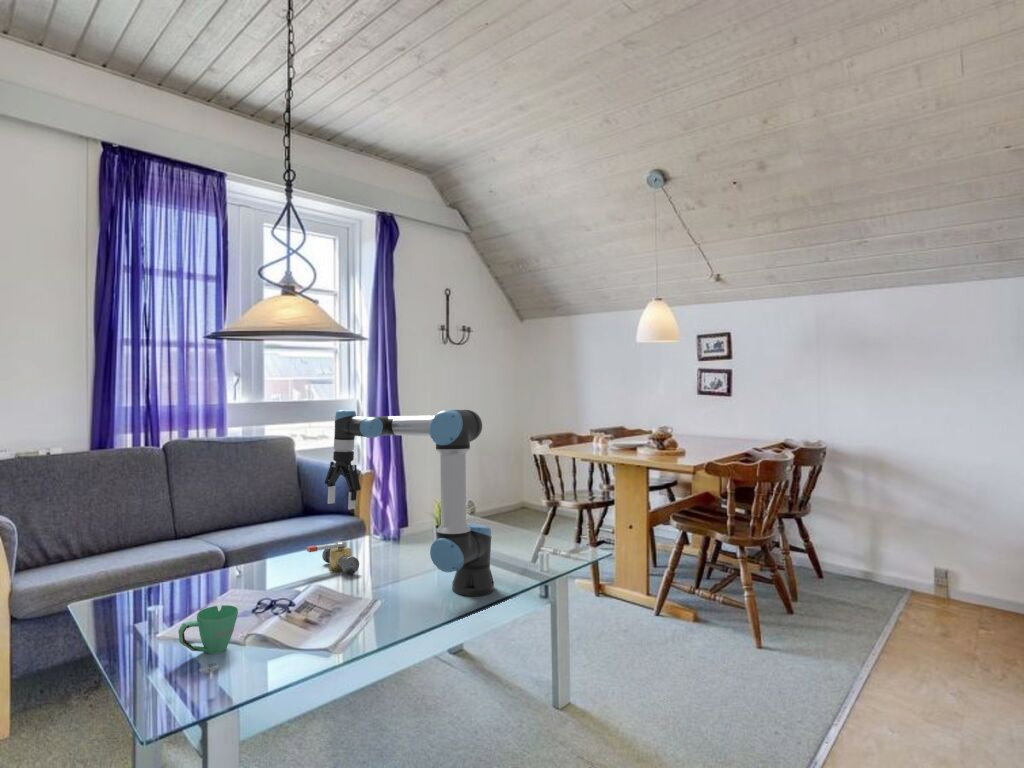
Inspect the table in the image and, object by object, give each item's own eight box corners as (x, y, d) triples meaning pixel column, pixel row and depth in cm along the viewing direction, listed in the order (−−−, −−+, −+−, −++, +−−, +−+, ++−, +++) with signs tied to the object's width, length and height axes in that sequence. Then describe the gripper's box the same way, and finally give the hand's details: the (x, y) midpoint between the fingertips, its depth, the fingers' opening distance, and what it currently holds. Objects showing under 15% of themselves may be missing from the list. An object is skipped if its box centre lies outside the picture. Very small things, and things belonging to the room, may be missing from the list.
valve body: (361, 573, 220) (361, 551, 220) (341, 577, 215) (342, 554, 215) (338, 561, 235) (339, 540, 235) (319, 564, 230) (320, 543, 230)
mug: (224, 638, 160) (225, 602, 160) (243, 648, 154) (245, 611, 154) (168, 657, 148) (170, 618, 148) (187, 668, 142) (189, 628, 142)
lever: (343, 544, 228) (343, 540, 228) (348, 547, 225) (348, 542, 225) (305, 550, 218) (306, 545, 218) (310, 552, 215) (310, 548, 215)
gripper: (371, 453, 215) (369, 510, 215) (333, 446, 231) (331, 499, 231) (354, 454, 209) (352, 512, 209) (317, 447, 225) (314, 502, 225)
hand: (341, 506), depth 220 cm, fingers open, 13 cm apart
